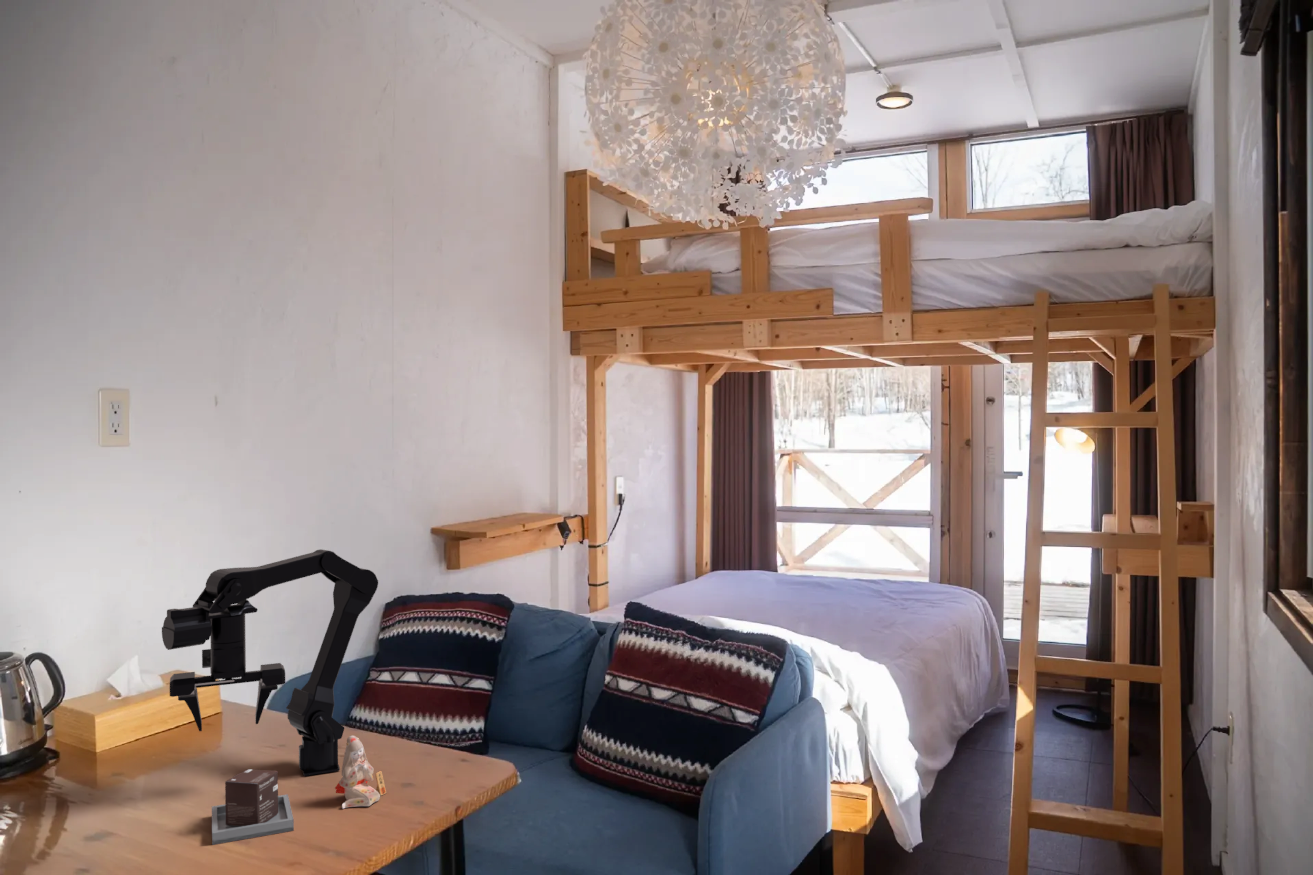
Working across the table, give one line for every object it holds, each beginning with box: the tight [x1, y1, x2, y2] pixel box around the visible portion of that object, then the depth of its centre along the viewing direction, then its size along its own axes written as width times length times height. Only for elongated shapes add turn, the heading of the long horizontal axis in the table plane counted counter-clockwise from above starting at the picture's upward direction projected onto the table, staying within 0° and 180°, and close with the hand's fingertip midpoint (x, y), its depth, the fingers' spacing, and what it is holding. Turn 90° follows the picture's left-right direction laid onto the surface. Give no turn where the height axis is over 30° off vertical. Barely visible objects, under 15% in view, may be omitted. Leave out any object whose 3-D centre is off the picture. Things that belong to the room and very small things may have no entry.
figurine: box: [334, 734, 387, 809], centre depth 167 cm, size 9×7×12 cm
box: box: [224, 768, 279, 826], centre depth 158 cm, size 6×6×7 cm
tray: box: [211, 793, 295, 846], centre depth 158 cm, size 12×12×2 cm
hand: (228, 726), depth 171 cm, fingers open, 9 cm apart
